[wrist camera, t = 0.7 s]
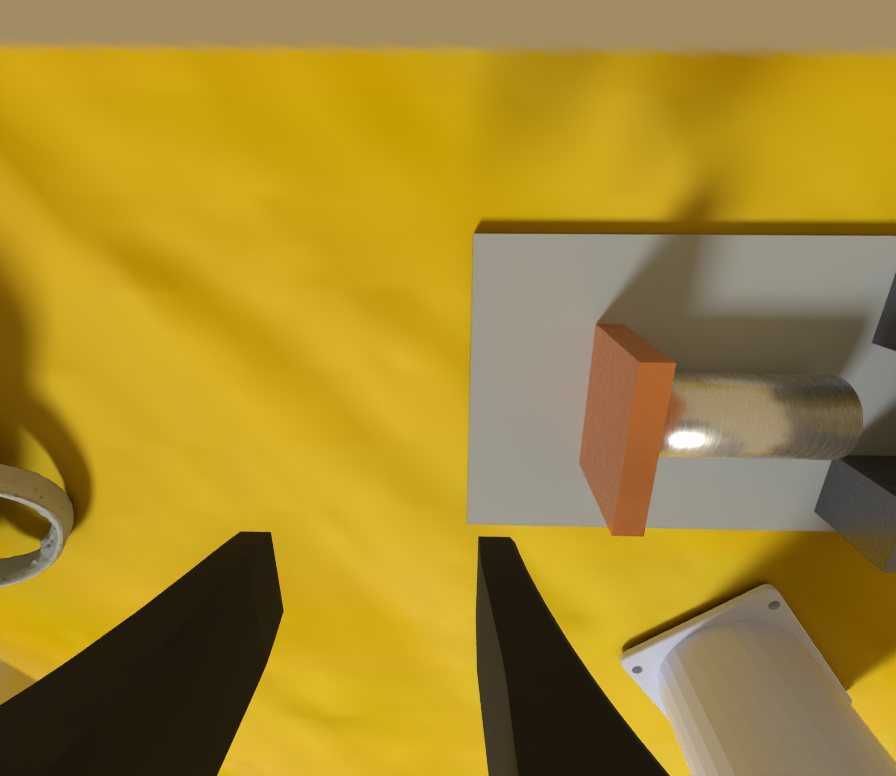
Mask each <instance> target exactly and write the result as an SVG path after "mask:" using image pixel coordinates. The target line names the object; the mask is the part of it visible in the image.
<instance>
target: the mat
mask: <svg viewBox="0 0 896 776" xmlns="http://www.w3.org/2000/svg"><path fill="white" fill-rule="evenodd" d="M895 273H896V235H725V234H543V233H473V277H472V322H471V367H470V412H469V456H468V501H467V524H481V525H530V526H579V527H608V526H607V524H606V522H605V519H604V517H603V515H602V513H601V511H600V509H599V506H598V504H597V502H596V500H595V498H594V495H593V493H592V491H591V489H590V487H589V484H588V482H587V480H586V478H585V476H584V473H583V471H582V469H581V467H580V465H579V459H580V451H581V443H582V434H583V426H584V418H585V409H586V401H587V393H588V384H589V376H590V368H591V359H592V351H593V343H594V334H595V326H596V324H624V325H625V326H627V327H628V328H629V329H631V330H632V331H634V332H635V333H636V334H638V335H639V336H640V337H642V338H643V339H645V340H646V341H647V342H649V343H650V344H651V345H653V346H654V347H655V348H657V349H658V350H660V351H661V352H662V353H664V354H665V355H666V356H668V357H669V358H670V359H672V360H673V361H675V362H676V368H675V373H745V374H825V375H835V376H838V377H840V378H842V379H844V380H845V381H847V382H848V383H849V384H850V385H851V386H852V387H853V389H854V390H855V392H856V393H857V395H858V397H859V400H860V402H861V406H862V411H863V428H862V433H861V436H860V439H859V441H858V443H857V445H856V446H855V448H854V449H853V450H852V451H851V452H850V453H849V454H848V455H878V456H896V351H894V350H891V349H888V348H885V347H882V346H879V345H876V344H873V343H872V340H873V337H874V334H875V331H876V328H877V326H878V323H879V320H880V317H881V314H882V311H883V308H884V305H885V302H886V299H887V296H888V293H889V290H890V288H891V285H892V282H893V279H894V276H895ZM830 463H831V460H784V459H725V458H665V457H659V458H658V463H657V468H656V473H655V479H654V484H653V489H652V495H651V500H650V505H649V510H648V516H647V521H646V526H645V528H676V529H725V530H774V531H823V532H837V531H836V530H835V529H833V528H832V527H831V526H830V525H829V524H828V523H827V522H825V521H824V520H823V519H822V518H821V517H820V516H818V515H817V514H816V513H815V512H814V510H815V507H816V504H817V501H818V498H819V495H820V492H821V489H822V486H823V483H824V480H825V477H826V475H827V472H828V469H829V466H830Z"/></svg>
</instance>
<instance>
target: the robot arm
mask: <svg viewBox="0 0 896 776" xmlns="http://www.w3.org/2000/svg"><path fill="white" fill-rule="evenodd" d="M282 614H283V605H282V598H281V592H280V586H279V580H278V574H277V568H276V561H275V555H274V549H273V543H272V537H271V532H239V533H238V534H237V535H235V536H234V537H232V538H231V539H230V540H228V541H227V542H226V543H225V544H223V545H222V546H221V547H219V548H218V549H217V550H216V551H214V552H213V553H212V554H210V555H209V556H208V557H207V558H205V559H204V560H203V561H202V562H200V563H199V564H198V565H197V566H195V567H194V568H193V569H191V570H190V571H189V572H188V573H186V574H185V575H184V576H183V577H181V578H180V579H179V580H177V581H176V582H175V583H173V584H172V585H171V586H170V587H168V588H167V589H166V590H164V591H163V592H162V593H161V594H159V595H158V596H157V597H155V598H154V599H153V600H152V601H150V602H149V603H148V604H146V605H145V606H144V607H142V608H141V609H140V610H138V611H137V612H136V613H134V614H133V615H132V616H130V617H129V618H127V619H126V620H125V621H123V622H122V623H120V624H119V625H118V626H116V627H115V628H114V629H112V630H111V631H109V632H108V633H107V634H105V635H104V636H102V637H101V638H100V639H98V640H97V641H95V642H94V643H93V644H91V645H90V646H89V647H87V648H86V649H84V650H83V651H82V652H80V653H79V654H77V655H76V656H75V657H73V658H72V659H70V660H69V661H67V662H66V663H64V664H63V665H61V666H60V667H59V668H57V669H56V670H54V671H53V672H51V673H49V674H48V675H46V676H45V677H43V678H42V679H40V680H39V681H37V682H36V683H34V684H33V685H32V686H30V687H28V688H27V689H25V690H23V691H22V692H20V693H19V694H17V695H15V696H14V697H12V698H11V699H9V700H8V701H6V702H4V703H3V704H1V705H0V776H217V774H218V772H219V770H220V768H221V765H222V763H223V761H224V759H225V757H226V754H227V752H228V750H229V748H230V745H231V743H232V741H233V739H234V737H235V734H236V732H237V730H238V728H239V725H240V723H241V721H242V719H243V717H244V714H245V712H246V710H247V708H248V705H249V703H250V701H251V699H252V696H253V694H254V692H255V690H256V687H257V685H258V683H259V681H260V678H261V676H262V674H263V671H264V669H265V667H266V664H267V662H268V659H269V655H270V652H271V649H272V646H273V643H274V640H275V637H276V634H277V631H278V627H279V624H280V621H281V618H282ZM476 646H477V674H478V683H479V693H480V702H481V711H482V720H483V728H484V737H485V746H486V755H487V764H488V773H489V776H670V775H669V774H668V773H667V772H666V771H665V769H664V768H663V767H662V766H661V764H660V763H659V762H658V761H657V760H656V758H655V757H654V756H653V755H652V754H651V752H650V751H649V750H648V749H647V748H646V746H645V745H644V744H643V743H642V741H641V740H640V739H639V738H638V737H637V735H636V734H635V733H634V731H633V730H632V729H631V728H630V726H629V725H628V724H627V722H626V721H625V720H624V719H623V717H622V716H621V715H620V714H619V712H618V711H617V710H616V708H615V707H614V706H613V704H612V703H611V702H610V700H609V699H608V698H607V696H606V695H605V694H604V692H603V691H602V689H601V688H600V687H599V685H598V684H597V683H596V681H595V680H594V678H593V677H592V675H591V674H590V673H589V671H588V670H587V668H586V667H585V665H584V664H583V662H582V661H581V659H580V658H579V656H578V655H577V654H576V652H575V651H574V649H573V648H572V646H571V644H570V643H569V641H568V640H567V638H566V637H565V635H564V634H563V632H562V630H561V629H560V627H559V625H558V624H557V622H556V620H555V619H554V617H553V615H552V614H551V612H550V611H549V609H548V607H547V606H546V604H545V602H544V600H543V599H542V597H541V595H540V593H539V592H538V590H537V588H536V586H535V584H534V582H533V580H532V578H531V577H530V575H529V573H528V571H527V569H526V567H525V565H524V562H523V560H522V558H521V556H520V554H519V551H518V549H517V547H516V544H515V542H514V541H513V540H512V539H511V538H510V537H479V538H478V568H477V598H476ZM620 662H621V665H622V667H623V668H624V669H625V670H626V672H627V673H628V674H629V675H630V676H631V677H632V678H633V679H634V681H635V682H636V683H637V684H638V685H639V686H640V687H641V689H642V690H643V691H644V692H645V693H646V694H647V695H648V697H649V698H650V699H651V700H652V701H653V702H654V703H655V705H656V706H657V707H658V708H659V709H660V710H661V711H662V712H663V714H664V715H665V716H666V717H667V718H668V719H669V721H670V723H671V726H672V728H673V731H674V733H675V736H676V738H677V741H678V743H679V746H680V748H681V751H682V753H683V756H684V758H685V761H686V763H687V766H688V768H689V771H690V773H691V776H896V762H895V761H894V759H893V758H892V757H891V755H890V754H889V753H888V752H887V750H886V749H885V748H884V746H883V745H882V744H881V743H880V741H879V740H878V739H877V737H876V736H875V735H874V734H873V732H872V731H871V730H870V729H869V727H868V726H867V725H866V723H865V722H864V721H863V720H862V718H861V717H860V716H859V714H858V713H857V712H856V711H855V709H854V708H853V707H852V705H851V704H852V700H851V698H850V696H849V695H848V693H847V692H846V690H845V689H844V688H843V686H842V685H841V683H840V682H839V680H838V679H837V677H836V676H835V674H834V673H833V671H832V670H831V668H830V667H829V665H828V664H827V662H826V661H825V659H824V658H823V656H822V655H821V653H820V652H819V650H818V649H817V647H816V646H815V644H814V643H813V642H812V640H811V639H810V637H809V636H808V634H807V633H806V631H805V630H804V628H803V627H802V625H801V624H800V622H799V621H798V619H797V618H796V616H795V615H794V613H793V612H792V610H791V609H790V607H789V606H788V604H787V603H786V601H785V600H784V599H783V597H782V596H781V594H780V593H779V591H778V590H777V589H776V588H775V587H774V586H773V585H770V584H764V585H760V586H758V587H756V588H754V589H752V590H750V591H748V592H746V593H744V594H742V595H740V596H738V597H736V598H734V599H731V600H729V601H727V602H725V603H723V604H721V605H719V606H717V607H715V608H713V609H711V610H709V611H707V612H705V613H703V614H701V615H698V616H696V617H694V618H692V619H690V620H688V621H686V622H684V623H682V624H680V625H678V626H676V627H674V628H672V629H670V630H668V631H665V632H663V633H661V634H659V635H657V636H655V637H653V638H651V639H649V640H647V641H645V642H643V643H641V644H639V645H637V646H635V647H632V648H630V649H628V650H626V651H624V652H623V653H622V654H621V655H620Z"/></svg>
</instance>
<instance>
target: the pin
mask: <svg viewBox="0 0 896 776" xmlns="http://www.w3.org/2000/svg"><path fill="white" fill-rule="evenodd" d="M675 368H676V362H675V361H673V360H672V359H670V358H669V357H668V356H666V355H665V354H664V353H662V352H661V351H660V350H658V349H657V348H655V347H654V346H653V345H651V344H650V343H649V342H647V341H646V340H645V339H643V338H642V337H640V336H639V335H638V334H636V333H635V332H634V331H632V330H631V329H629V328H628V327H627V326H625V325H624V324H596V326H595V334H594V343H593V351H592V359H591V368H590V376H589V384H588V393H587V401H586V409H585V418H584V426H583V434H582V443H581V451H580V459H579V465H580V467H581V469H582V471H583V473H584V476H585V478H586V480H587V482H588V484H589V487H590V489H591V491H592V493H593V495H594V498H595V500H596V502H597V504H598V506H599V509H600V511H601V513H602V515H603V517H604V519H605V522H606V524H607V526H608V528H609V530H610V533H611V535H612V536H644V532H645V526H646V521H647V516H648V510H649V505H650V500H651V495H652V489H653V484H654V479H655V473H656V468H657V463H658V458H659V457H665V458H725V459H784V460H837V459H841V458H843V457H845V456H846V455H848V454H849V453H850V452H851V451H852V450H853V449H854V448H855V446H856V445H857V443H858V441H859V439H860V436H861V433H862V428H863V411H862V406H861V402H860V400H859V397H858V395H857V393H856V392H855V390H854V389H853V387H852V386H851V385H850V384H849V383H848V382H847V381H845V380H844V379H842V378H840V377H838V376H835V375H825V374H745V373H675Z"/></svg>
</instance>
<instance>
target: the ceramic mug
mask: <svg viewBox="0 0 896 776" xmlns="http://www.w3.org/2000/svg"><path fill="white" fill-rule="evenodd" d="M0 497H3V498H7V499H10V500H14V501H17V502H20V503H22V504H24V505H27V506H29V507H31V508H33V509H35V510H37V511H38V512H39V513H40V514H41V515H42V516H44V517H46V518H48V520H49V521H50V522H51V523H52V526H51V529H50V531H49V533H48V534H47V535H46V536H45V537H44V538H43V539H42V540H41V541H40V543H41V548H40V549H38V550H36V551H33V552H31V553H28V554H24V555H19V556H13V557H10V558H2V559H0V587H4V586H8V585H12V584H16V583H20V582H23V581H26V580H28V579H30V578H32V577H34V576H36V575H38V574H39V573H41V572H42V571H44V570H45V569H47V568H48V567H49V566H51V565H52V564H53V563H54V562H55V561H56V560H57V559H58V557H59V555H60V554H61V553H62V550H63V548H64V546H65V544H66V541H67V539H68V537H69V535H70V533H71V530H72V527H73V523H74V510H73V504H72V502H71V500H70V498H69V496H68V495H67V494H66V493H65V491H64V490H62V489H61V488H60V487H59V486H58V485H56V484H55V483H54V482H52V481H51V480H49V479H47V478H45V477H43V476H41V475H40V474H38V473H35V472H32V471H29V470H26V469H22V468H18V467H13V466H9V465H4V464H0Z"/></svg>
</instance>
